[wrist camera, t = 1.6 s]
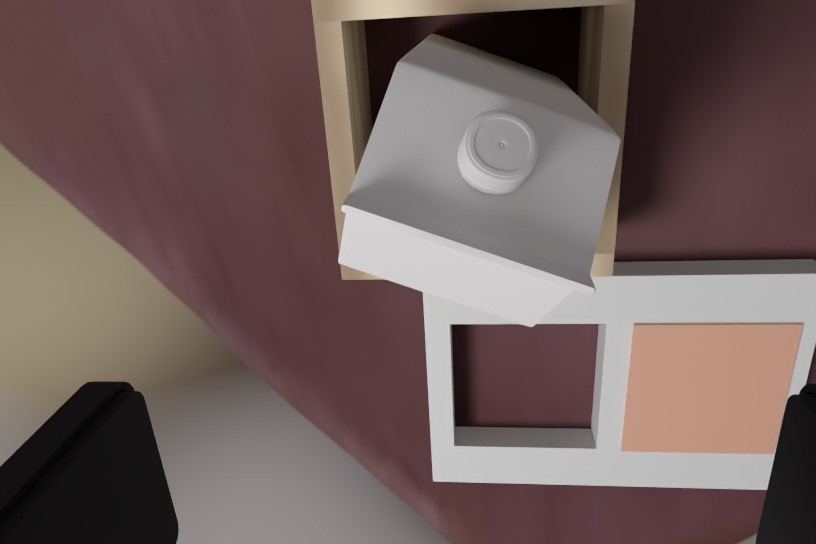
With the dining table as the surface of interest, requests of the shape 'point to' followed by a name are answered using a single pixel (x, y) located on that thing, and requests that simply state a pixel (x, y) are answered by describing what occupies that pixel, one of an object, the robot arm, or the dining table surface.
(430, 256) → the milk carton
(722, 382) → the board
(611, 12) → the frame
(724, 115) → the dining table surface
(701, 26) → the dining table surface
